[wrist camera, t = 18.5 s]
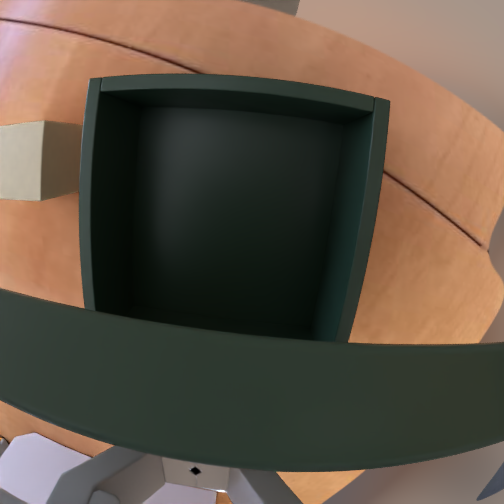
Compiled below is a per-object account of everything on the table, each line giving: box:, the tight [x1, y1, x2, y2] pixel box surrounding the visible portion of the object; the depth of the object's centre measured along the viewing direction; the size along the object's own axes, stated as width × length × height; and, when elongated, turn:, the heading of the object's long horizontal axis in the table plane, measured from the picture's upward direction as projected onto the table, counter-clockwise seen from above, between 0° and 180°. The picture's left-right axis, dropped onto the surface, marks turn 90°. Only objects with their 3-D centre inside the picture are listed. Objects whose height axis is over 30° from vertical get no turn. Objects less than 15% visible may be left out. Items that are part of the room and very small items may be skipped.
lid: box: [0, 288, 504, 472], centre depth 9 cm, size 16×15×1 cm
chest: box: [79, 74, 390, 343], centre depth 18 cm, size 16×15×7 cm
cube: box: [0, 120, 83, 201], centre depth 18 cm, size 5×5×5 cm
